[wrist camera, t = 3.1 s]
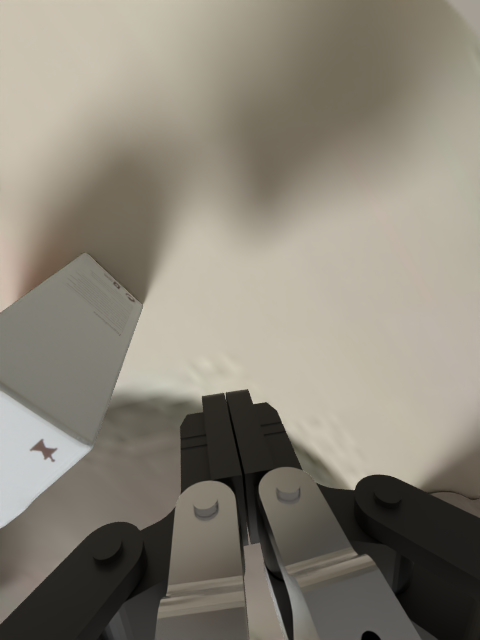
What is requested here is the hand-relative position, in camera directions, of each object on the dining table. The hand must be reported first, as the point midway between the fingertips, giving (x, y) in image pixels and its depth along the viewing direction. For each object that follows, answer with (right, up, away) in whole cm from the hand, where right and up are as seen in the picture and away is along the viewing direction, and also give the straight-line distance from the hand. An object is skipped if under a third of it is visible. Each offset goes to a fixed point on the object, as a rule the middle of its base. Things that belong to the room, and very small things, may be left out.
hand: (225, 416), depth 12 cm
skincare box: (-9, +4, +9) cm, 13 cm away
